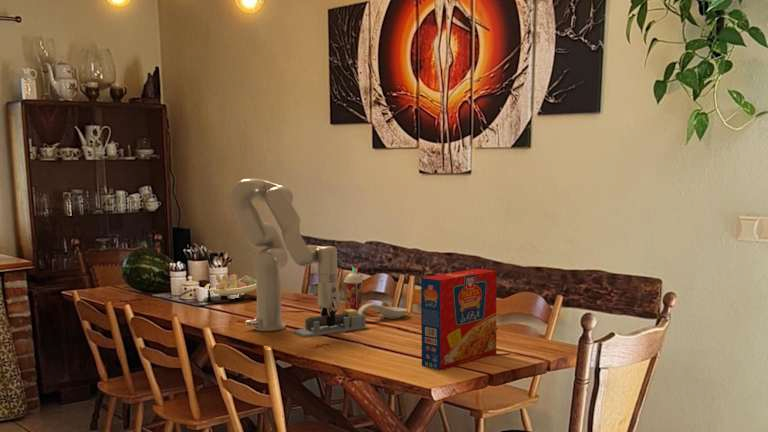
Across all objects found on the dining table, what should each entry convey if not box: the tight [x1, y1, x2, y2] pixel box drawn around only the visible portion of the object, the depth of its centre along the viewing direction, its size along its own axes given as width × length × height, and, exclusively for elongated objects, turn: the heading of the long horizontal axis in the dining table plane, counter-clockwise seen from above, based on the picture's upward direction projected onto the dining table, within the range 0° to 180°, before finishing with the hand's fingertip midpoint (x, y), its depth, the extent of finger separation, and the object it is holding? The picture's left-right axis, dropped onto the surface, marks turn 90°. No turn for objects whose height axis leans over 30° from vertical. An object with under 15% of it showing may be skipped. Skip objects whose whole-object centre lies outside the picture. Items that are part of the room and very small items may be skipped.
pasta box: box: [420, 268, 497, 371], centre depth 221 cm, size 28×8×28 cm, turn 134°
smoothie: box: [343, 266, 363, 311], centre depth 301 cm, size 8×8×20 cm
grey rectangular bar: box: [307, 308, 358, 328], centre depth 265 cm, size 20×5×5 cm, turn 123°
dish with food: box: [203, 273, 256, 297], centre depth 336 cm, size 28×28×14 cm
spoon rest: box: [358, 302, 408, 320], centre depth 286 cm, size 24×12×7 cm, turn 123°
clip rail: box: [293, 313, 367, 338], centre depth 265 cm, size 27×9×5 cm, turn 123°
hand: (328, 324), depth 264 cm, fingers closed on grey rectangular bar, 4 cm apart
